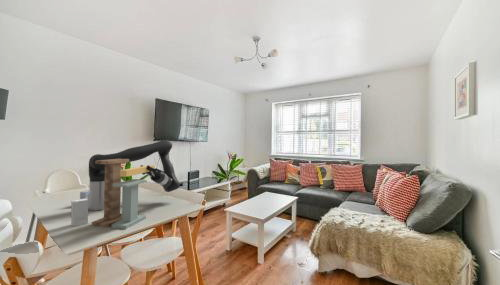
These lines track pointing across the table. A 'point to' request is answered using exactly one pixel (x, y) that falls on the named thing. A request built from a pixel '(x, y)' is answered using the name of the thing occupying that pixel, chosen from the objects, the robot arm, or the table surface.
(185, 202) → the table surface
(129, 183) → the slate pedestal
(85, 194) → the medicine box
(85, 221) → the skincare box
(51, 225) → the table surface
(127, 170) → the ochre bar
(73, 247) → the table surface
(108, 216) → the walnut stand
